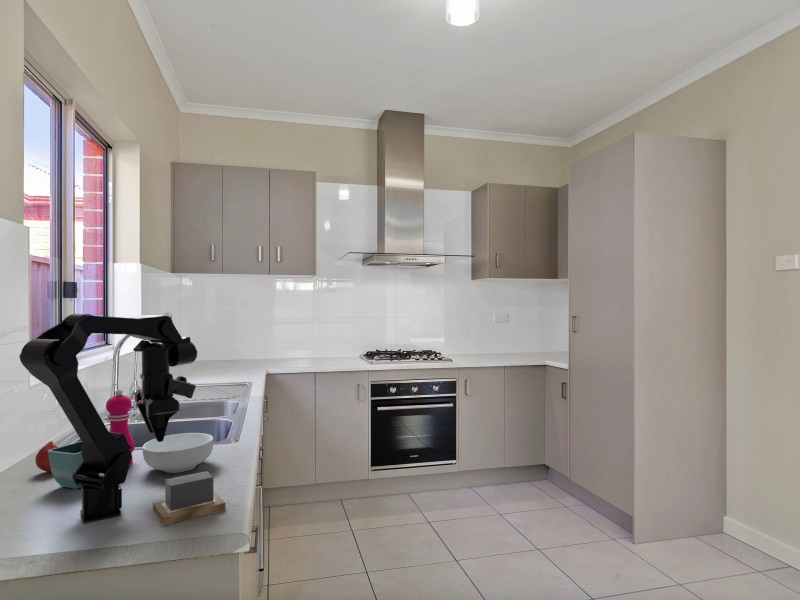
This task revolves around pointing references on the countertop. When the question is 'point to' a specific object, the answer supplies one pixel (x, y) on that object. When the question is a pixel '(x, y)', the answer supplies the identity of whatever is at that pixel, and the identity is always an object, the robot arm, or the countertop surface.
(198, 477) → the block
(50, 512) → the countertop surface
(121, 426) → the pepper mill
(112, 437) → the robot arm
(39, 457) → the onion
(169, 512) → the pin board
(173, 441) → the cereal bowl
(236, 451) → the countertop surface
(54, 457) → the flower pot
